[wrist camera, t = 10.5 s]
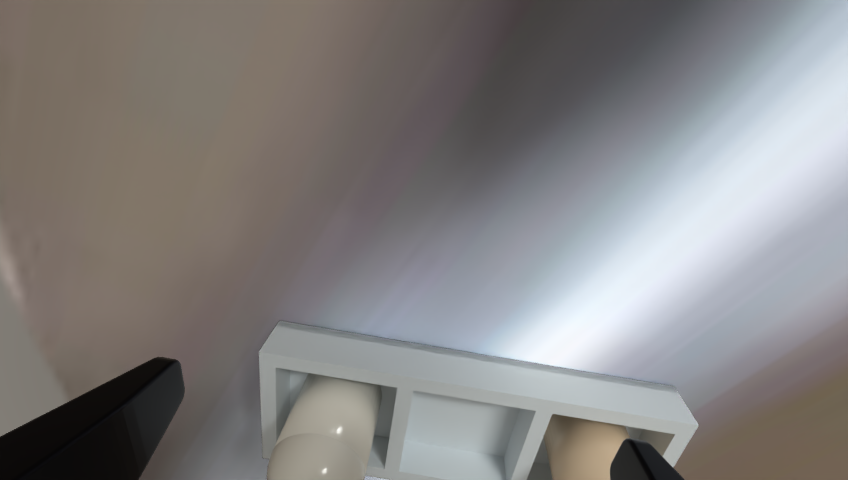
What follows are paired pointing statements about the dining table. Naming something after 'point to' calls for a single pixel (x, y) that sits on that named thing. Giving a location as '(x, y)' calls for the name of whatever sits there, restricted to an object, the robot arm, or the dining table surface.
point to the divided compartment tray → (461, 404)
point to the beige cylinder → (582, 447)
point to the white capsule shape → (327, 431)
